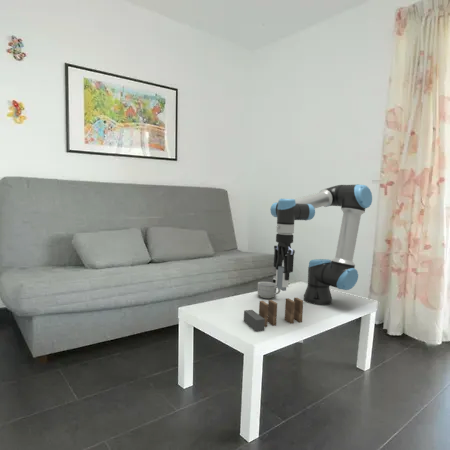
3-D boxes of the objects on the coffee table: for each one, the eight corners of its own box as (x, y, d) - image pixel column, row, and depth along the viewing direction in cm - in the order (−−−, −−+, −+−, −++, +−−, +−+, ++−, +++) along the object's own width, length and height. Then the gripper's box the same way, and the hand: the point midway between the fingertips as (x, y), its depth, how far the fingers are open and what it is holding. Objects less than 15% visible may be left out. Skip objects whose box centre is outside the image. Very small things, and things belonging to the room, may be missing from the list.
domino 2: (270, 321, 152) (271, 299, 151) (276, 325, 147) (277, 303, 146) (267, 321, 151) (268, 300, 150) (272, 325, 147) (274, 303, 146)
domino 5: (295, 318, 157) (296, 297, 156) (302, 322, 152) (303, 300, 151) (292, 318, 156) (294, 297, 155) (299, 322, 152) (300, 301, 151)
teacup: (253, 296, 190) (253, 282, 189) (267, 293, 196) (267, 279, 195) (270, 302, 178) (271, 288, 178) (284, 299, 185) (285, 285, 184)
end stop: (251, 320, 152) (252, 309, 152) (264, 330, 141) (264, 319, 141) (243, 321, 151) (244, 310, 150) (255, 331, 140) (256, 320, 139)
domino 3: (280, 287, 152) (281, 265, 152) (286, 290, 148) (287, 268, 147) (277, 287, 152) (278, 266, 151) (282, 290, 147) (284, 268, 146)
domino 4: (287, 319, 155) (288, 298, 154) (293, 323, 151) (294, 301, 150) (284, 319, 155) (285, 298, 154) (290, 323, 150) (291, 301, 149)
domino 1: (261, 322, 150) (262, 300, 149) (267, 326, 146) (268, 304, 145) (258, 322, 150) (259, 301, 149) (263, 327, 145) (264, 304, 144)
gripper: (267, 231, 155) (264, 280, 157) (288, 236, 138) (285, 291, 140) (281, 231, 157) (278, 280, 159) (304, 236, 141) (300, 290, 143)
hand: (281, 285), depth 150 cm, fingers closed on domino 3, 5 cm apart
